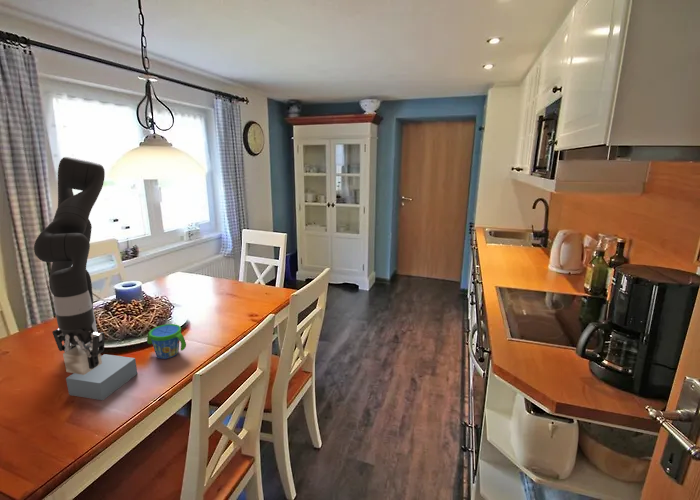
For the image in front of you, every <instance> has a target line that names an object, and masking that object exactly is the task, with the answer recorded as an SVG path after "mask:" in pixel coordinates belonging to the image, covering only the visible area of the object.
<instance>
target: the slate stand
mask: <svg viewBox="0 0 700 500" xmlns="http://www.w3.org/2000/svg"><path fill="white" fill-rule="evenodd" d="M101 360H102V364H100V365H99V366H97V367H96V368H94V369H93V370H91V371H89V372H88V373H86V374H85V375H82V374H76V373H71V374H70V375H69V376H67V377H65V381H66V386H67V391H68V395H69V396H73V397H80V398H85V399H86V398H87V399H91V400H92V399H93V400H99V401H104V400H106V399H107V398H108V397H109V396H111V395H112V394H113V393H114V392H116V391H117V390H118V389H119V388H122V386H124V385H125V384H126V383H127V382H129V381H130V380H132V379H133V378H134V377H135V376H136V375H138V369H137V362H136V358H135V357H128V356H121V355H114V354H105V353H104V354H103V355H102V354H101Z"/></svg>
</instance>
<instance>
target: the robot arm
mask: <svg viewBox="0 0 700 500" xmlns="http://www.w3.org/2000/svg"><path fill="white" fill-rule="evenodd" d="M57 167H58V168H57V208H56V210H55V213H54V216H53V219H52V221H51V222H50V223H49V224H48V226H46V227H45V228H44V229H43V230H42V231H41V233H39V235H37V237H36V239H35V241H34V246H33V253H34V254H35V256H36V258H37V259H38V260H40V261H41V262H44V263H52V264H51V267H50V273H49V278H48V286H49V289H50V292H51V294H52V296H53V307H54V311H55V318H56V322H57V329H55V330H53V331H52V336H53V338H54V341H55V344H56V346H57V348H58V350H59V351H60V352H64V353H65V352H67V351H69V350H71V349H72V348H74V347H76V346H78V345H79V346H80V348H81V350H84V351H85V353H86V354H87V356H88V357H87V358H88V363H89V368H90V369H93V368H95V367H97V366H98V364H99V360H98V354H101V353H103V352H104V351H105V335H106V334H105V333H104V332H103V331H101V332H98V329H97V322H96V317H95V312H94V311H95V310H94V297H93V285H92V279H91V275H90V272H89V271H88V270H87V263H88V258H89V253H90V247H91V243H90V242H91V236H92V228H93V227H92V223H91V221H90V219H89V217H90V214H91V212H92V209H93V208H94V206H95V204H96V202H97V199H98V198H99V196H100V193H101V191H102V188H103V187H104V183H105V175H106V173H105V168H104V166H103V165H102V164H101V163H97V162H94V161H88V160H84V159H80V158H76V157H71V156H63V157H62V158H61V159H60V160H59V163H58V166H57ZM73 190H77V191H80V192H77V193H76V194H74V192H73ZM63 342H64V344H63ZM85 344H88V345H87V346H86V345H85ZM90 347H91V348H92V349H93V350H92V351H90V349H89V348H90ZM98 348H99V349H98Z"/></svg>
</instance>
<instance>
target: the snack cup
mask: <svg viewBox="0 0 700 500" xmlns="http://www.w3.org/2000/svg"><path fill="white" fill-rule="evenodd" d="M181 332H182V327H181V326H180V325H179V324H176V323H167V324H161V325H158V326H156V327H154V328H152V329H151V330H149V331H148V333H147V338H146V340H147V341H146V342H147V344H148V345H152V346H153V349H154V352H155V356H156V358H158V359H160V360H161V359H164V360H167V359H171V358H173V357H176V356H177V355H178V353H179V350H180V352H181V351H184V350H185V349H186V347H187V343H186V339H185V337H184V335H183V334H182V333H181Z"/></svg>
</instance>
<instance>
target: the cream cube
mask: <svg viewBox="0 0 700 500" xmlns="http://www.w3.org/2000/svg"><path fill="white" fill-rule="evenodd" d="M85 345H86V346H87V345H88V344H85ZM89 349H90V351H92V350H93V349H92V348H91V347H90V348H89ZM98 349H99V348H98ZM101 356H102V354H101V353H100V354H98V360H99V364H98V366H99V365H100V364H102V360H101ZM62 357H63V360H64V361H63V362H64V365H65V366H64V367H65V370H66V371H65V372H66V373H69V374H73V373H76V374H82V375H85V374H86V373H88V372H89V371H91V370H93V369H94V368H93V369H90V368H89V363H88V358H87V357H88V356H87V354H86V353H85V351H84V350H81V348H80V346H79V345H78V346H76V347H74V348H72V349H71V350H69V351H67V352H64V353H62ZM95 368H96V367H95Z"/></svg>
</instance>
